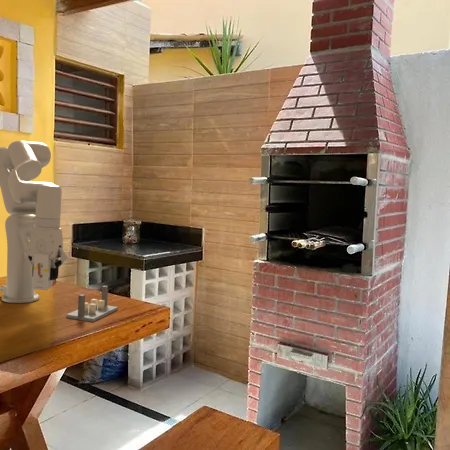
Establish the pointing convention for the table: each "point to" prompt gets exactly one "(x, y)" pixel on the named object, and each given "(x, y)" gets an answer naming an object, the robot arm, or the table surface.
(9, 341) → the table surface
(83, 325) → the table surface
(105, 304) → the peg stand
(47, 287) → the ink box
